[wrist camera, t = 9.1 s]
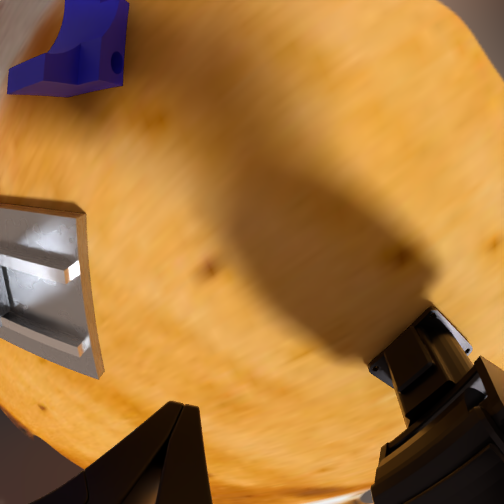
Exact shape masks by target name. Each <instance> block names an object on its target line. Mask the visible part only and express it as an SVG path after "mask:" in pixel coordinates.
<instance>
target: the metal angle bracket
mask: <svg viewBox="0 0 504 504" xmlns="http://www.w3.org/2000/svg"><path fill="white" fill-rule="evenodd" d="M10 310H11V307H10V303H9V299H8V295H7V291H6V286H5V281H4V276H3V271H2V266H1V265H0V318H1V317H2V316H4V315H5V314H6V313H7V312H9V311H10ZM2 326H3V325H2V322H1V319H0V328H1V327H2Z"/></svg>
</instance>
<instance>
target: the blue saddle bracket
mask: <svg viewBox="0 0 504 504" xmlns="http://www.w3.org/2000/svg"><path fill="white" fill-rule="evenodd" d="M128 11H129V3H128V2H127V1H126V0H65V10H64V17H63V22H62V26H61V29H60V32H59V34H58V37H57V39H56V41H55V42H54V44H53V46H52V47H51V49H50V50H49V51H48V52H47V53H44V54H42V55H39V56H37V57H34V58H32V59H30V60H27V61H25V62H23V63H21V64H18V65H16V66H14V67H12V68H10V69H9V75H8V87H7V94H15V95H41V96H56V97H71V96H75V95H79V94H84V93H88V92H93V91H97V90H102V89H107V88H112V87H118V86H123V70H124V53H125V40H126V29H127V20H128Z"/></svg>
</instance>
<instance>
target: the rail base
mask: <svg viewBox="0 0 504 504" xmlns="http://www.w3.org/2000/svg"><path fill="white" fill-rule="evenodd" d="M0 265H1V266H2V271H3V276H4V281H5V286H6V291H7V295H8V299H9V303H10V307H11V310H10V311H9V312H7V313H6V314H5V315H4V316H2V317H1V318H0V319H1V322H2V325H3V326H2V327H1V328H0V338H2V339H4V340H6V341H8V342H10V343H12V344H14V345H16V346H18V347H20V348H22V349H24V350H26V351H29V352H31V353H33V354H35V355H37V356H40V357H42V358H44V359H47V360H49V361H51V362H54V363H56V364H59V365H61V366H63V367H66V368H69V369H71V370H74V371H76V372H79V373H82V374H84V375H87V376H90V377H93V378H95V379H98V380H99V378H100V377H101V376H102V374H103V373H104V366H103V361H102V356H101V351H100V345H99V340H98V334H97V328H96V321H95V314H94V307H93V300H92V291H91V282H90V272H89V261H88V247H87V228H86V214H84V213H76V212H68V211H60V210H53V209H45V208H37V207H29V206H20V205H12V204H4V203H0Z"/></svg>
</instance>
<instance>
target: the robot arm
mask: <svg viewBox="0 0 504 504" xmlns="http://www.w3.org/2000/svg"><path fill="white" fill-rule="evenodd" d="M432 313H434V314H433V315H432V316H430V315H431V314H432ZM466 349H467V350H466ZM471 352H472V346H471V345H470V343H469V342H468V341H467V340H466V339H465V338H464V337H463V336H462V335H461V334H460V333H459V332H458V331H457V330H456V329H455V327H454V326H453V325H452V324H451V323H450V322H449V321H448V320H447V319H446V318H445V317H444V316H443V315H442V314H441V313H440V312H439V311H438V310H437V309H436V308H434V307H430V308H428V309H427V310H426V311H425V312H424V313H423V314H422V315H421V316H420V317H419V318H418V319H417V320H416V321H415V322H414V323H413V324H412V325H411V326H410V327H409V328H408V329H407V330H406V331H405V332H403V333H402V334H401V335H400V336H399V337H398V338H397V339H396V340H395V341H394V342H393V343H392V344H391V345H389V346H388V347H387V348H386V349H385V350H384V351H383V352H382V353H381V354H379V355H378V356H377V357H376V358H375V359H374V360H372V361H371V362H370V363H369V365H368V369H369V372H370V373H371V374H373V375H374V376H376V377H377V378H379V379H380V380H382V381H383V382H385V383H386V384H388V385H389V386H391V387H392V388H394V389H395V392H396V395H397V398H398V401H399V405H400V408H401V411H402V414H403V417H404V421H405V424H406V427H407V429H406V430H405V431H404V432H402V433H401V434H400V435H399V436H397V437H396V438H395V439H394V440H392V441H391V442H390V443H386V444H385V445H384V446H382V447H381V452H380V458H379V465H378V467H377V469H376V476H375V483H374V484H373V485H372V486H371V494H372V500H373V503H374V504H504V371H503V370H501V369H500V368H499V367H497V366H496V365H494V364H493V363H491V362H490V361H488V360H487V359H485V358H484V357H482V356H479V358H478V359H477V360H476V361H475V362H474V365H473V364H472V362H471V361H470V359H469V358H468V355H469V354H470V353H471ZM375 366H377V367H376V368H373V367H375ZM29 504H213V503H212V497H211V491H210V484H209V478H208V471H207V465H206V457H205V450H204V443H203V435H202V427H201V418H200V410H199V407H198V406H193V405H189V404H185V405H184V404H183V403H180V402H175V401H169V402H167V403H166V404H165V405H164V406H163V407H161V408H160V409H159V410H158V411H157V412H155V413H154V414H153V415H152V416H151V417H150V418H148V419H147V420H146V421H145V422H144V423H142V424H141V425H140V426H139V427H137V428H136V429H135V430H134V431H133V432H131V433H130V434H129V435H128V436H126V437H125V438H124V439H123V440H121V441H120V442H119V443H118V444H116V445H115V446H114V447H113V448H111V449H110V450H109V451H108V452H106V453H105V454H104V455H103V456H101V457H100V458H99V459H97V460H96V461H95V462H94V463H92V464H91V465H90V466H88V467H87V468H86V469H85V471H82V472H80V473H79V474H78V475H76V476H75V477H74V478H72V479H71V480H70V481H68V482H67V483H65V484H64V485H62V486H61V487H59V488H57V489H55V490H54V491H52V492H50V493H48V494H47V495H45V496H43V497H41V498H39V499H37V500H35V501H33V502H31V503H29Z"/></svg>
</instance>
